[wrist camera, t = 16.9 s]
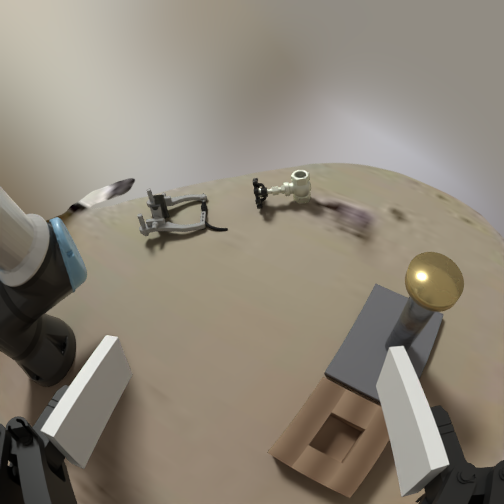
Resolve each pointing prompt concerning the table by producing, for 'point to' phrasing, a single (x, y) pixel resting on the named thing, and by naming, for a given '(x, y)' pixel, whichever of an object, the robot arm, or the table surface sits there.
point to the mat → (378, 343)
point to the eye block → (334, 438)
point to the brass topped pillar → (426, 295)
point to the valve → (286, 188)
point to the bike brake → (160, 213)
